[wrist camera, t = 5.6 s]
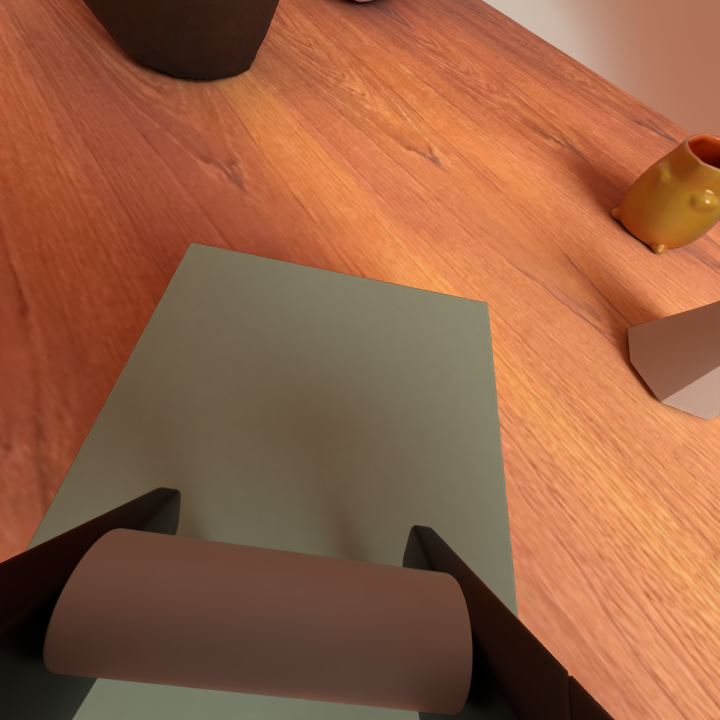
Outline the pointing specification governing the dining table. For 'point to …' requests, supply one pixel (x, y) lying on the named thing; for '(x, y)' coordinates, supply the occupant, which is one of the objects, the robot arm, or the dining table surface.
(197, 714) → the lid
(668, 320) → the flask
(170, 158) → the dining table surface
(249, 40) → the pitcher
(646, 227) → the mug
